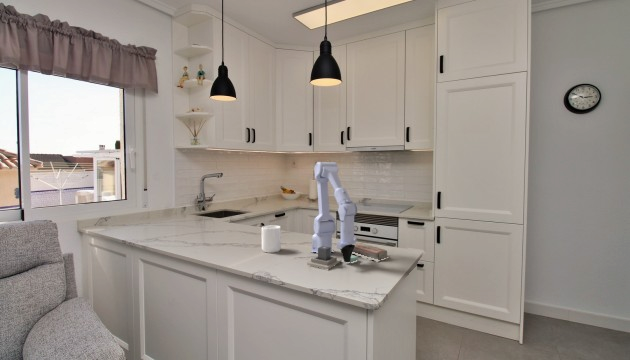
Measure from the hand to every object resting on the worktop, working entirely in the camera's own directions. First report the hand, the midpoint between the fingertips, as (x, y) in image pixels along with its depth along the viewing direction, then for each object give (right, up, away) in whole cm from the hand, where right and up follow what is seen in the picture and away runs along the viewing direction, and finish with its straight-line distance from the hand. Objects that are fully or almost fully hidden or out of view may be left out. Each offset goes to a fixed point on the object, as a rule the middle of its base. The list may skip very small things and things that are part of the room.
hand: (346, 261), depth 132 cm
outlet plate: (-10, -1, 0) cm, 10 cm away
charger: (-10, 0, 0) cm, 10 cm away
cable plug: (+2, -1, +3) cm, 4 cm away
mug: (-37, 0, +21) cm, 42 cm away
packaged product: (+12, -1, +13) cm, 17 cm away
